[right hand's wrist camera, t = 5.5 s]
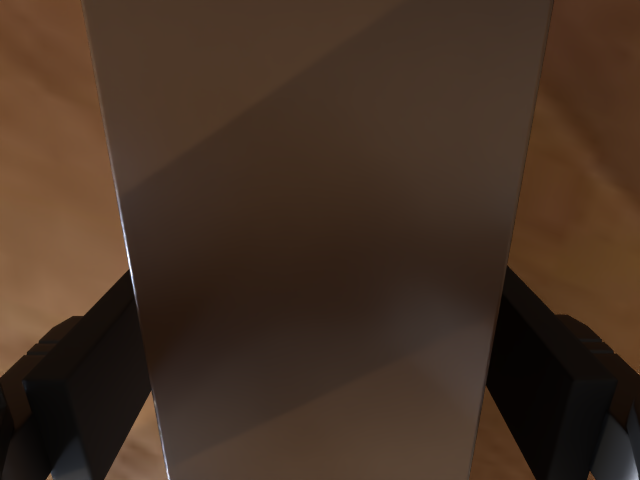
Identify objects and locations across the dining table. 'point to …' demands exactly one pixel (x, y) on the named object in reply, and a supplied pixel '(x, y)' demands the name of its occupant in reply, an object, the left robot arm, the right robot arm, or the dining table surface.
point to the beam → (317, 222)
